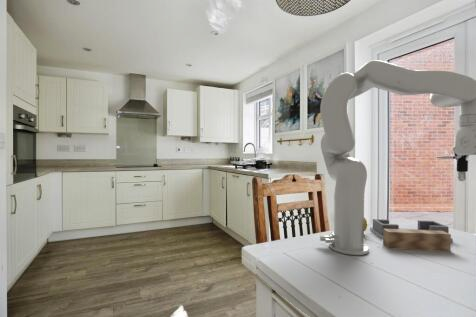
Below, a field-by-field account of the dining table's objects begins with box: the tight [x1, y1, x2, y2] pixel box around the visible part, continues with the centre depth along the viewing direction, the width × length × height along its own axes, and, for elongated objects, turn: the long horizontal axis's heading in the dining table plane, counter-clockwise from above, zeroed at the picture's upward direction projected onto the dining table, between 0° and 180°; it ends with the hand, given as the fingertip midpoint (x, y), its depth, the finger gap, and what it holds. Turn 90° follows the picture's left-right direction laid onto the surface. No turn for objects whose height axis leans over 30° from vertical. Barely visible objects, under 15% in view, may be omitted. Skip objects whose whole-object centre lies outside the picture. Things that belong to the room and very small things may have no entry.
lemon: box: [364, 217, 368, 232], centre depth 104 cm, size 6×6×8 cm
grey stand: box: [369, 218, 454, 243], centre depth 102 cm, size 25×12×5 cm, turn 84°
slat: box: [382, 229, 452, 252], centre depth 89 cm, size 20×4×6 cm, turn 83°
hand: (473, 172), depth 84 cm, fingers open, 9 cm apart
